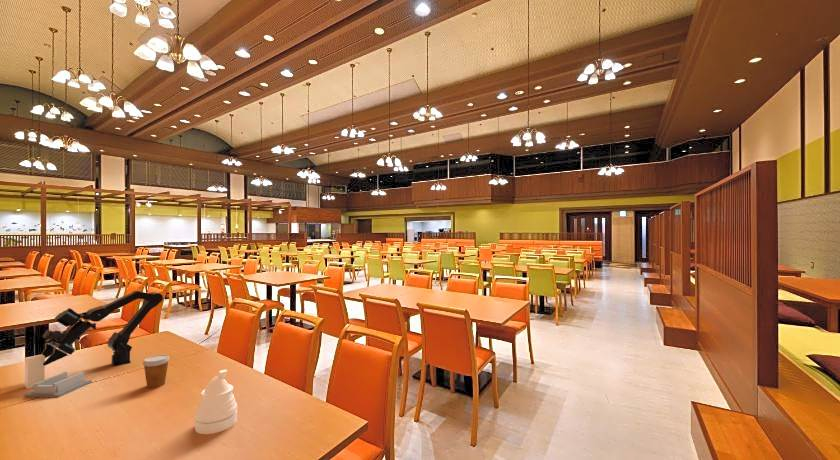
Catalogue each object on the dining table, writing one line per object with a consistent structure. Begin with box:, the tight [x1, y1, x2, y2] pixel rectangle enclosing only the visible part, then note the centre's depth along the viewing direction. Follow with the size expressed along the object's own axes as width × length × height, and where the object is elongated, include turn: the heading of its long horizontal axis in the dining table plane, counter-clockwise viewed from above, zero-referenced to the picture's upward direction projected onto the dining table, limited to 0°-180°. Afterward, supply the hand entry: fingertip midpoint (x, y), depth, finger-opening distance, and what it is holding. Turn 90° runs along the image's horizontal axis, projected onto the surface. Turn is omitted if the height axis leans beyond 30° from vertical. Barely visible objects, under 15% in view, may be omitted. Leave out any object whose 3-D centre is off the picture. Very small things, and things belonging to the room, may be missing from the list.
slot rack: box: [24, 371, 93, 398], centre depth 147 cm, size 14×14×5 cm
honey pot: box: [194, 369, 238, 435], centre depth 121 cm, size 13×13×18 cm
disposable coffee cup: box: [142, 354, 171, 389], centre depth 152 cm, size 10×10×12 cm
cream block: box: [24, 354, 46, 389], centre depth 151 cm, size 5×4×12 cm
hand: (40, 362), depth 152 cm, fingers open, 9 cm apart
